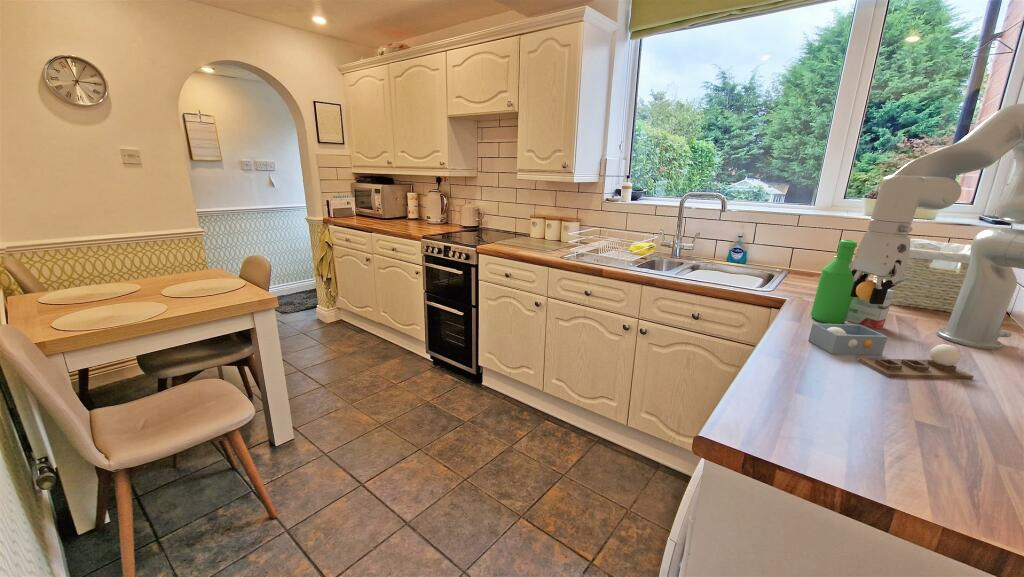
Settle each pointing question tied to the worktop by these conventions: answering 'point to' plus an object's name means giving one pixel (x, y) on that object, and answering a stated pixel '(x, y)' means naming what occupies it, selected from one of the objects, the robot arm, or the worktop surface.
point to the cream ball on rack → (945, 355)
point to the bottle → (835, 287)
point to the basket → (932, 275)
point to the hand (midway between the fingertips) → (866, 299)
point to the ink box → (869, 311)
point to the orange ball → (865, 290)
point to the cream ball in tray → (837, 330)
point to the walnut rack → (914, 368)
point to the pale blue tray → (848, 339)
